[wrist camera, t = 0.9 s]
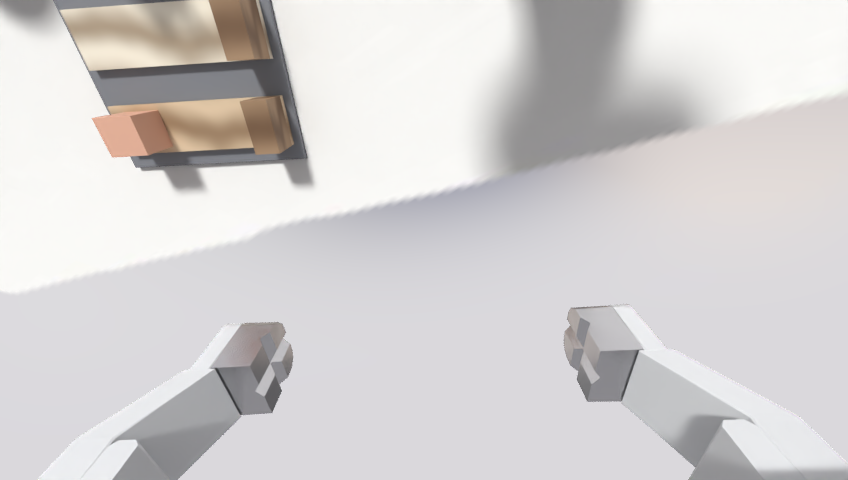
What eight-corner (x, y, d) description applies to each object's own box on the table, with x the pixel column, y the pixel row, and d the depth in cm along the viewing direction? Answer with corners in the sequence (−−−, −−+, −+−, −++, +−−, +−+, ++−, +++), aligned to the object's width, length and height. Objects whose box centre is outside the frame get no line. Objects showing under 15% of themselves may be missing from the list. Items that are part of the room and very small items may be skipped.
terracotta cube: (123, 112, 42) (91, 118, 38) (158, 110, 41) (129, 115, 38) (140, 148, 44) (112, 157, 40) (173, 146, 44) (148, 155, 40)
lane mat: (53, -10, 37) (47, -11, 36) (264, -26, 36) (261, -28, 35) (139, 166, 47) (135, 167, 46) (306, 157, 46) (305, 158, 45)
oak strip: (112, 105, 42) (77, 111, 38) (282, 95, 41) (265, 99, 37) (135, 153, 45) (105, 163, 41) (294, 144, 44) (280, 153, 40)
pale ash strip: (66, 10, 37) (20, 5, 33) (257, -4, 36) (235, -12, 32) (95, 70, 40) (56, 72, 36) (273, 58, 39) (254, 59, 35)
